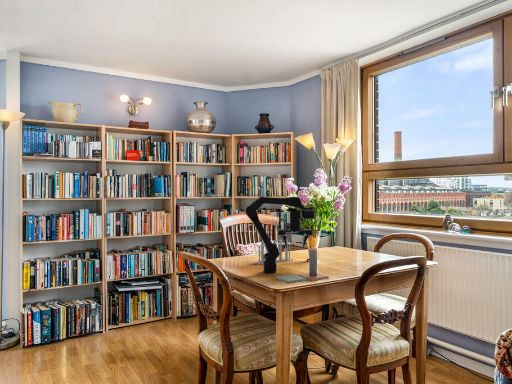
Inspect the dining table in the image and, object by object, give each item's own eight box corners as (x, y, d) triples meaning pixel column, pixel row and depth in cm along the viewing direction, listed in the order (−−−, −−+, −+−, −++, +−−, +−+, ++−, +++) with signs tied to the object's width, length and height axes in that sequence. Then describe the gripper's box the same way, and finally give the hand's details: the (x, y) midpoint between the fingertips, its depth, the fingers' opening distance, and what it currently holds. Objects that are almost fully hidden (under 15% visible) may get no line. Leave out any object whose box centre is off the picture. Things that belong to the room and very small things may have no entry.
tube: (308, 275, 203) (308, 247, 202) (310, 274, 206) (310, 246, 206) (316, 276, 201) (316, 248, 201) (317, 274, 205) (317, 247, 205)
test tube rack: (289, 259, 255) (289, 238, 255) (293, 260, 251) (293, 239, 251) (255, 263, 243) (255, 241, 242) (259, 264, 239) (259, 242, 239)
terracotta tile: (312, 280, 196) (312, 278, 196) (298, 276, 206) (298, 274, 206) (328, 278, 202) (328, 276, 202) (314, 274, 211) (314, 272, 211)
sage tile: (288, 283, 191) (288, 281, 191) (275, 278, 200) (275, 276, 200) (306, 280, 197) (306, 278, 197) (292, 276, 206) (292, 274, 206)
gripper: (309, 218, 226) (309, 245, 226) (277, 218, 225) (277, 245, 226) (312, 219, 214) (312, 248, 215) (278, 220, 214) (278, 248, 214)
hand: (294, 247), depth 218 cm, fingers open, 9 cm apart
